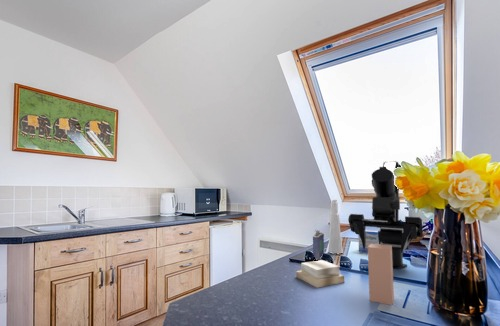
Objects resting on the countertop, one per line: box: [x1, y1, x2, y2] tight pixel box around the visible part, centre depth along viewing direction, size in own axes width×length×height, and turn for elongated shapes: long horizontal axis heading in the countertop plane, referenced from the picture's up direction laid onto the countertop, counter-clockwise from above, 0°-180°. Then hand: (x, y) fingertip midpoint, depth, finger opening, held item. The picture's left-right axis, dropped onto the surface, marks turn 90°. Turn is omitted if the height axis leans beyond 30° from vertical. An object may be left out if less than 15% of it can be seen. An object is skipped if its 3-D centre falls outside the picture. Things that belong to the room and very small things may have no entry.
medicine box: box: [357, 229, 379, 253], centre depth 122 cm, size 8×4×9 cm, turn 62°
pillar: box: [367, 244, 395, 306], centre depth 72 cm, size 5×5×13 cm
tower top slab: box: [300, 259, 341, 279], centre depth 87 cm, size 8×8×2 cm
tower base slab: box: [295, 269, 345, 288], centre depth 87 cm, size 10×10×2 cm
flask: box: [312, 229, 325, 261], centre depth 112 cm, size 9×3×11 cm, turn 151°
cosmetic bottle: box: [327, 199, 344, 254], centre depth 120 cm, size 6×6×22 cm
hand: (382, 250), depth 76 cm, fingers open, 9 cm apart
